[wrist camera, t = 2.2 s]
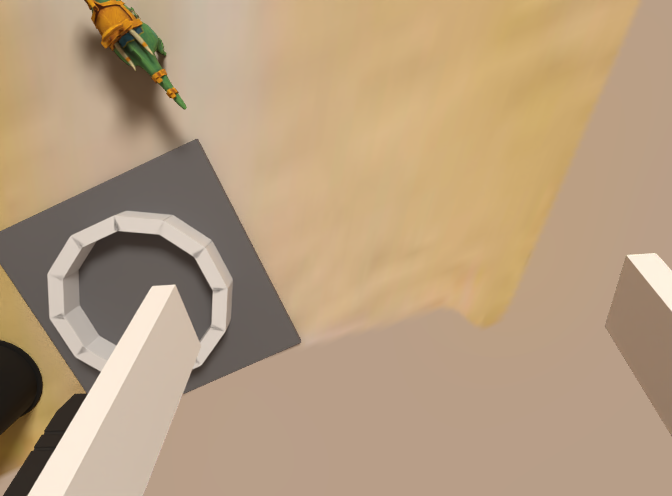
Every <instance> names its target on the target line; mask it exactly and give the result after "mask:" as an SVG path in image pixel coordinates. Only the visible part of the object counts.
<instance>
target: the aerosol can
mask: <svg viewBox="0 0 672 496" xmlns="http://www.w3.org/2000/svg"><path fill="white" fill-rule="evenodd" d="M41 392H42V377H41V374H40V371H39V368H38V367H37V365H36V364H35V362H34V361H33V359H32V358H31V357H30V356H29V355H28V354H27V353H26V352H24V351H23V350H22V349H20V348H18V347H17V346H15V345H13V344H11V343H8V342H5V341H1V340H0V435H1V434H2V433H3V432H4V431H5V430H6V429H7V428H8V427H9V426H10V425H11V424H12V423H13V422H14V421H16V420H17V419H18V418H19V417H21V416H23V415H24V414H26V413H28V412H29V411H30V410H31V409H32V408H33V407H34V406H35V405H36V403H37V402H38V400H39V398H40V395H41Z"/></svg>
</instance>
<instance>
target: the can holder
mask: <svg viewBox="0 0 672 496" xmlns="http://www.w3.org/2000/svg"><path fill="white" fill-rule="evenodd" d="M0 264H1V266H2V267H3V269H4V270H5V272H6V273H7V275H8V276H9V278H10V279H11V281H12V282H13V284H14V285H15V287H16V288H17V290H18V291H19V293H20V294H21V296H22V297H23V299H24V300H25V302H26V303H27V305H28V306H29V308H30V309H31V311H32V312H33V314H34V315H35V317H36V318H37V319H38V321H39V322H40V324H41V325H42V327H43V328H44V330H45V331H46V333H47V334H48V336H49V337H50V339H51V340H52V342H53V343H54V345H55V346H56V348H57V349H58V351H59V352H60V354H61V355H62V357H63V358H64V360H65V361H66V363H67V364H68V366H69V367H70V369H71V370H72V372H73V373H74V375H75V376H76V378H77V379H78V381H79V382H80V384H81V385H82V387H83V388H84V390H85V391H86V393H87V394H88V393H89V391H90V390H91V388H92V386H93V385H94V383H95V381H96V379H97V378H98V376H99V374H100V373H101V371H102V369H103V368H104V366H105V364H106V363H107V361H108V359H109V358H110V356H111V354H112V353H113V351H114V349H115V347H116V346H117V344H118V342H119V341H120V339H121V337H122V336H123V334H124V332H125V331H126V329H127V327H128V326H129V324H130V322H131V321H132V319H133V317H134V315H135V314H136V312H137V310H138V309H139V307H140V305H141V304H142V302H143V300H144V299H145V297H146V295H147V294H148V292H149V290H150V289H151V287H152V286H161V285H176V287H177V290H178V292H179V294H180V297H181V299H182V301H183V304H184V306H185V309H186V311H187V313H188V316H189V318H190V321H191V323H192V325H193V328H194V330H195V332H196V335H197V337H198V340H199V342H200V344H201V348H200V351H199V353H198V356H197V359H196V361H195V364H194V366H193V369H192V371H191V374H190V377H189V379H188V382H187V384H186V387H185V389H184V392H183V394H184V393H187V392H189V391H191V390H194V389H196V388H198V387H201V386H202V385H205V384H207V383H210V382H212V381H214V380H216V379H219V378H221V377H223V376H226V375H228V374H230V373H232V372H235V371H237V370H239V369H242V368H244V367H246V366H249V365H251V364H253V363H255V362H258V361H260V360H262V359H264V358H267V357H269V356H271V355H274V354H276V353H278V352H281V351H283V350H285V349H287V348H290V347H292V346H294V345H297V344H299V343H301V339H300V337H299V335H298V333H297V331H296V329H295V327H294V325H293V323H292V321H291V319H290V317H289V316H288V314H287V312H286V310H285V308H284V306H283V304H282V302H281V300H280V298H279V296H278V294H277V292H276V290H275V288H274V286H273V284H272V282H271V280H270V279H269V277H268V275H267V273H266V271H265V269H264V267H263V265H262V263H261V261H260V259H259V257H258V255H257V253H256V251H255V249H254V247H253V245H252V243H251V241H250V240H249V238H248V236H247V234H246V232H245V230H244V228H243V226H242V224H241V222H240V220H239V218H238V216H237V214H236V212H235V210H234V208H233V206H232V204H231V203H230V201H229V199H228V197H227V195H226V193H225V191H224V189H223V187H222V185H221V183H220V181H219V179H218V177H217V175H216V173H215V171H214V169H213V167H212V166H211V164H210V162H209V160H208V158H207V156H206V154H205V152H204V150H203V148H202V146H201V144H200V142H199V140H198V139H195V140H193V141H191V142H189V143H186V144H184V145H182V146H180V147H178V148H176V149H174V150H172V151H170V152H167V153H165V154H163V155H161V156H159V157H157V158H155V159H153V160H150V161H148V162H146V163H144V164H142V165H140V166H138V167H136V168H133V169H131V170H129V171H127V172H125V173H123V174H121V175H119V176H117V177H114V178H112V179H110V180H108V181H106V182H104V183H102V184H100V185H97V186H95V187H93V188H91V189H89V190H87V191H85V192H83V193H81V194H78V195H76V196H74V197H72V198H70V199H68V200H66V201H64V202H61V203H59V204H57V205H55V206H53V207H51V208H49V209H47V210H44V211H42V212H40V213H38V214H36V215H34V216H32V217H30V218H28V219H25V220H23V221H21V222H19V223H17V224H15V225H13V226H11V227H8V228H6V229H4V230H2V231H0Z"/></svg>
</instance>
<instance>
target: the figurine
mask: <svg viewBox="0 0 672 496" xmlns="http://www.w3.org/2000/svg"><path fill="white" fill-rule="evenodd" d="M85 2H86V3H87V4H88V6H89V9H90V10H92V13H93V14H92V17H91V19H92V21H93V23H94V24H95V26H96V29H98V30H99V32H100V34H101V35H102V42H101V44H102V45H103V46H104V47H105V48H108V47H110V48H111V50H112V51H113V50H114V51H115V53H116V54H117V55H118V56H119V58H120V59H121V60H123V61H124V62H125V63H126V64H128V65H131V66H132V67H133V68H134V70H135V71H136V69H135V66H140V67H142V68H143V69H144V70H145V71H146V72H147V73H148V74H149V75H150V76H151V77H152V80H153V81H155V82H156V83H158V84H160V85H161V86H162V87H163V88H164V89H165V91H166V92H167V93H166V94H167V95H168V96H169V98H173V99H174V101H175V102H176V103H177V104H178V105H179V106H181V107H182V108H183V109H184V110H185V109H186V108H187V107H186V105H185V104H184V102H183V100H182V99H181V97H180V96H179V94H178V91H177V90H176V89H175V88H174V87H173V85H172V84H171V82H170V81H169V79H168V77H167V73H166V71H165V69H162V67H161V66H160V64H159V62H158V61H157V59H156V56H155V54H154V52H155V51H156V50H157V51H158V52H160V53H161V54H163V55H164V56H166V52H164V50H163V48H164V46H163V43H162V40H161V39H160V38H158V36H157V35H156V34H155V32H154V31H153V30H152V29H151V28H150V27H149V26H148V25H146V24H145V23H143V22H141V21H140V17H139V16H138V15H137V14H136V13H135V12H134V9H133V8H132V7H131V9H129V8H128V7H127V6H125V5H124V4H125V3H123V2H122V1H121V0H85Z"/></svg>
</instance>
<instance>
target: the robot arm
mask: <svg viewBox="0 0 672 496" xmlns="http://www.w3.org/2000/svg"><path fill="white" fill-rule="evenodd" d="M605 327H606V329H607V331H608V332H609V334H610V336H611V337H612V339H613V341H614V342H615V344H616V346H617V347H618V349H619V350H620V352H621V354H622V355H623V357H624V359H625V360H626V362H627V364H628V365H629V367H630V369H631V370H632V372H633V373H634V375H635V377H636V378H637V380H638V382H639V383H640V385H641V387H642V388H643V390H644V392H645V393H646V395H647V396H648V398H649V400H650V401H651V403H652V405H653V406H654V408H655V410H656V411H657V413H658V415H659V416H660V418H661V420H662V421H663V423H664V424H665V426H666V428H667V429H668V431H669V433H670V434H671V436H672V271H671V270H670V268H669V267H668V266H667V265H666V264H665V263H664V262H663V261H662V260H661V258H660V257H659V256H658V255H657V254H656V253H651V254H636V255H626V258H625V261H624V264H623V268H622V271H621V274H620V278H619V281H618V284H617V287H616V291H615V294H614V298H613V301H612V304H611V307H610V311H609V314H608V317H607V321H606V324H605ZM200 348H201V344H200V342H199V340H198V337H197V335H196V332H195V330H194V328H193V325H192V323H191V321H190V318H189V316H188V313H187V311H186V309H185V306H184V304H183V301H182V299H181V297H180V294H179V292H178V290H177V287H176V285H161V286H152V287H151V289H150V290H149V292H148V294H147V295H146V297H145V299H144V300H143V302H142V304H141V305H140V307H139V309H138V310H137V312H136V314H135V315H134V317H133V319H132V321H131V322H130V324H129V326H128V327H127V329H126V331H125V332H124V334H123V336H122V337H121V339H120V341H119V342H118V344H117V346H116V347H115V349H114V351H113V353H112V354H111V356H110V358H109V359H108V361H107V363H106V364H105V366H104V368H103V369H102V371H101V373H100V374H99V376H98V378H97V379H96V381H95V383H94V385H93V386H92V388H91V390H90V391H89V393H88V394H74V395H73V396H72V397H71V398H70V399H69V400H68V401H67V402H66V403H65V404H64V405H63V406H62V407H61V408H60V409H59V410H58V411H57V412H56V413H55V415H54V416H53V418H52V420H51V421H50V423H49V424H48V426H47V427H46V429H45V431H44V432H45V433H44V435H41V437H40V438H39V440H38V442H37V443H36V445H35V446H34V451H31V453H30V454H29V456H28V457H27V459H26V460H25V462H24V464H23V465H22V467H21V468H20V470H19V471H18V473H17V475H16V476H15V478H14V479H13V481H12V482H11V484H10V486H9V487H8V489H7V490H6V492H5V493H4V495H3V496H143V495H144V492H145V489H146V487H147V484H148V481H149V479H150V476H151V474H152V472H153V469H154V466H155V463H156V461H157V458H158V456H159V453H160V451H161V448H162V446H163V443H164V441H165V438H166V436H167V433H168V430H169V428H170V425H171V423H172V420H173V417H174V415H175V412H176V410H177V407H178V405H179V402H180V400H181V397H182V394H183V392H184V389H185V387H186V384H187V382H188V379H189V377H190V374H191V371H192V369H193V366H194V364H195V361H196V359H197V356H198V353H199V351H200Z"/></svg>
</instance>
